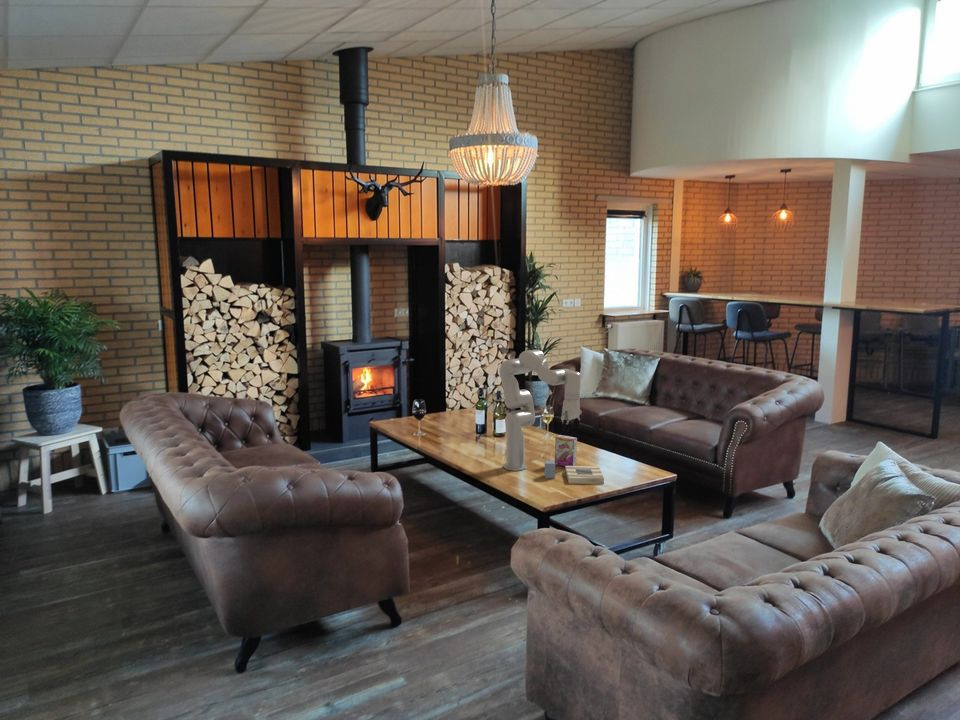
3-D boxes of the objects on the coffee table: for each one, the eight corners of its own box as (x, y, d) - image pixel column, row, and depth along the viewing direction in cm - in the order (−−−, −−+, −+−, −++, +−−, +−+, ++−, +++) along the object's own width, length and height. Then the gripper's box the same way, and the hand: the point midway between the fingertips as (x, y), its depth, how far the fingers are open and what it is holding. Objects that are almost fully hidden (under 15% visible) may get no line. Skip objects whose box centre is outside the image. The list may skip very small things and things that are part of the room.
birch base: (565, 471, 385) (565, 465, 385) (598, 471, 385) (598, 466, 384) (568, 483, 365) (568, 477, 365) (603, 483, 365) (604, 477, 364)
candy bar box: (554, 465, 396) (555, 436, 393) (558, 462, 400) (558, 434, 397) (572, 468, 390) (573, 439, 387) (576, 466, 394) (577, 437, 392)
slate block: (544, 475, 378) (545, 460, 377) (554, 475, 378) (554, 460, 377) (545, 478, 373) (545, 463, 372) (554, 478, 373) (555, 463, 372)
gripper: (575, 392, 361) (573, 425, 364) (555, 398, 348) (554, 432, 351) (587, 394, 356) (586, 428, 359) (568, 400, 343) (567, 434, 346)
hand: (570, 429), depth 355 cm, fingers open, 9 cm apart
